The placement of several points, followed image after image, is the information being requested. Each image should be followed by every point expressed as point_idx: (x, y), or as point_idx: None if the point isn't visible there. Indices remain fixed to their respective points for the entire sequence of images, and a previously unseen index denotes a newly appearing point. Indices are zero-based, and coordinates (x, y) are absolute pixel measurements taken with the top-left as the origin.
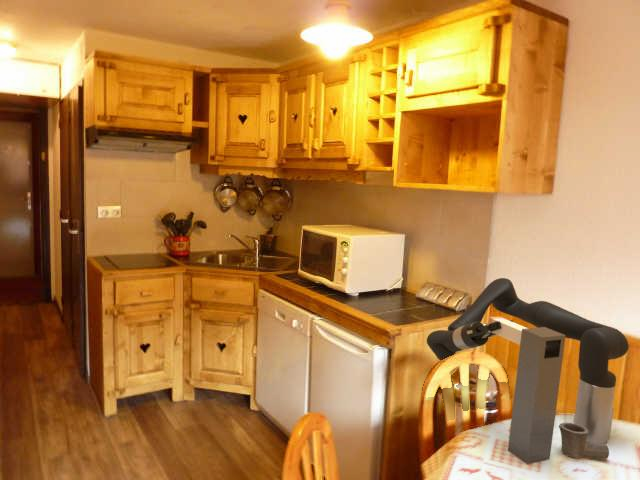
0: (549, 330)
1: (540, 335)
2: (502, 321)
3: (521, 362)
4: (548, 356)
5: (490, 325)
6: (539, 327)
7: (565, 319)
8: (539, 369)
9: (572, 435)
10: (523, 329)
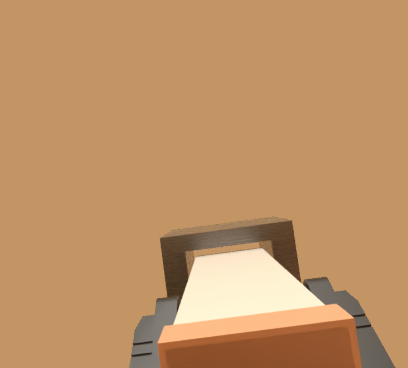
0: (181, 232)
1: (267, 218)
2: (267, 290)
3: None
4: None
5: (380, 349)
6: (190, 233)
7: None
8: None
9: None
10: (289, 220)
